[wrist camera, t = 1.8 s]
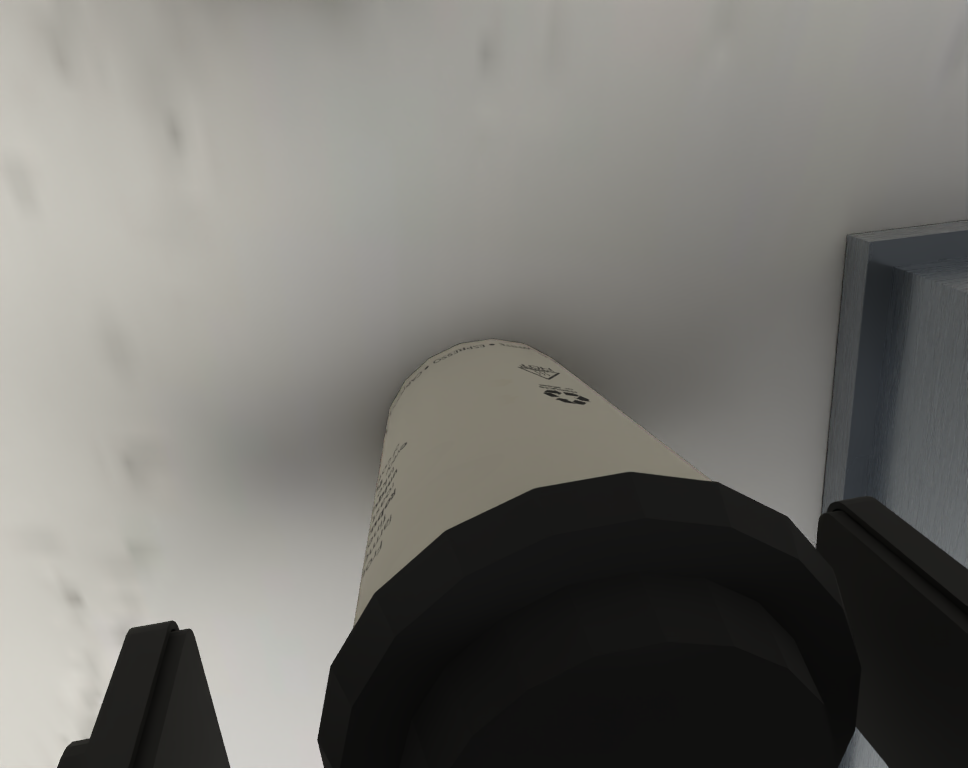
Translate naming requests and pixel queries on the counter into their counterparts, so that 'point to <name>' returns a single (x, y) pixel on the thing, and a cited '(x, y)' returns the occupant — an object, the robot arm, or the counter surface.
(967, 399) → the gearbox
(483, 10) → the counter surface
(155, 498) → the counter surface
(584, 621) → the coffee cup
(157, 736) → the robot arm
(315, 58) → the counter surface
